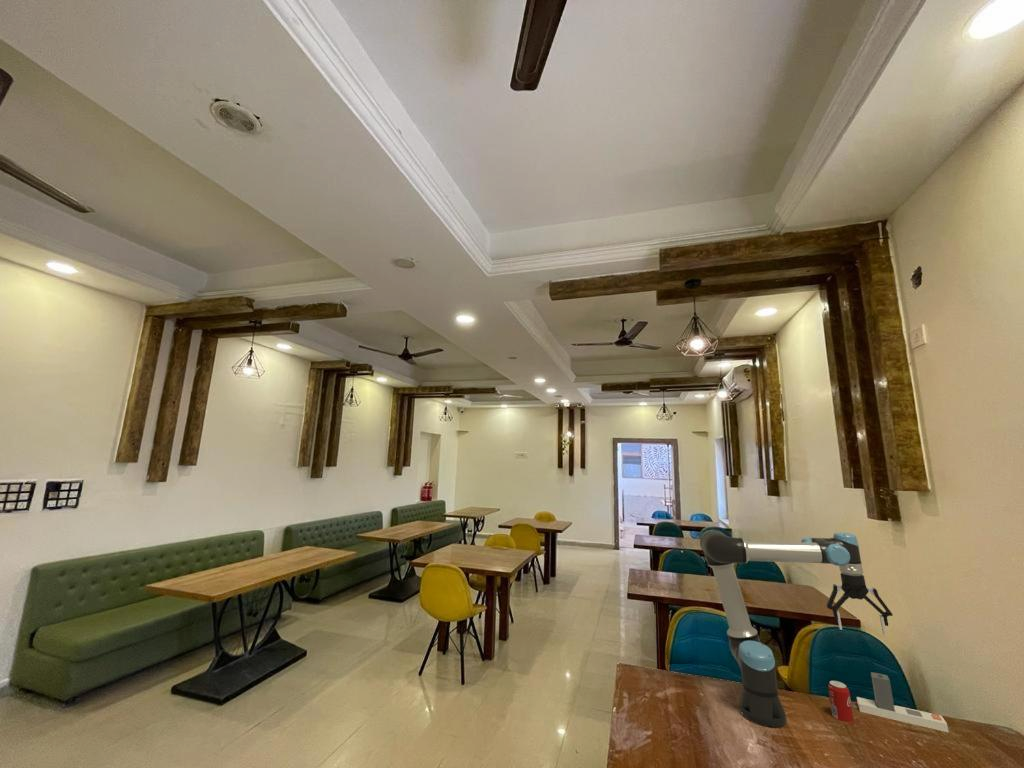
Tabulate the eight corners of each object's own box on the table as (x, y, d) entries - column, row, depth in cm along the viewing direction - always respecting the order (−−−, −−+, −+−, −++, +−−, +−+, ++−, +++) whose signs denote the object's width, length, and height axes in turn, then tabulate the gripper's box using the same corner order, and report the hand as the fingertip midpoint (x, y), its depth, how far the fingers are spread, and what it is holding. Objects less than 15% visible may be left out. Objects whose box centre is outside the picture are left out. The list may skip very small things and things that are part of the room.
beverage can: (858, 726, 149) (852, 689, 152) (838, 724, 150) (832, 687, 153) (847, 716, 155) (842, 680, 158) (828, 714, 156) (823, 679, 159)
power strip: (850, 712, 158) (848, 699, 159) (848, 704, 163) (846, 692, 164) (949, 735, 144) (946, 722, 145) (943, 726, 149) (941, 713, 150)
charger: (879, 715, 154) (872, 676, 157) (876, 709, 158) (870, 671, 161) (896, 719, 152) (889, 680, 154) (893, 712, 156) (887, 674, 158)
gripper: (814, 572, 171) (824, 629, 167) (894, 579, 159) (907, 640, 154) (813, 568, 177) (822, 623, 173) (890, 574, 165) (901, 633, 160)
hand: (862, 631), depth 164 cm, fingers open, 13 cm apart
